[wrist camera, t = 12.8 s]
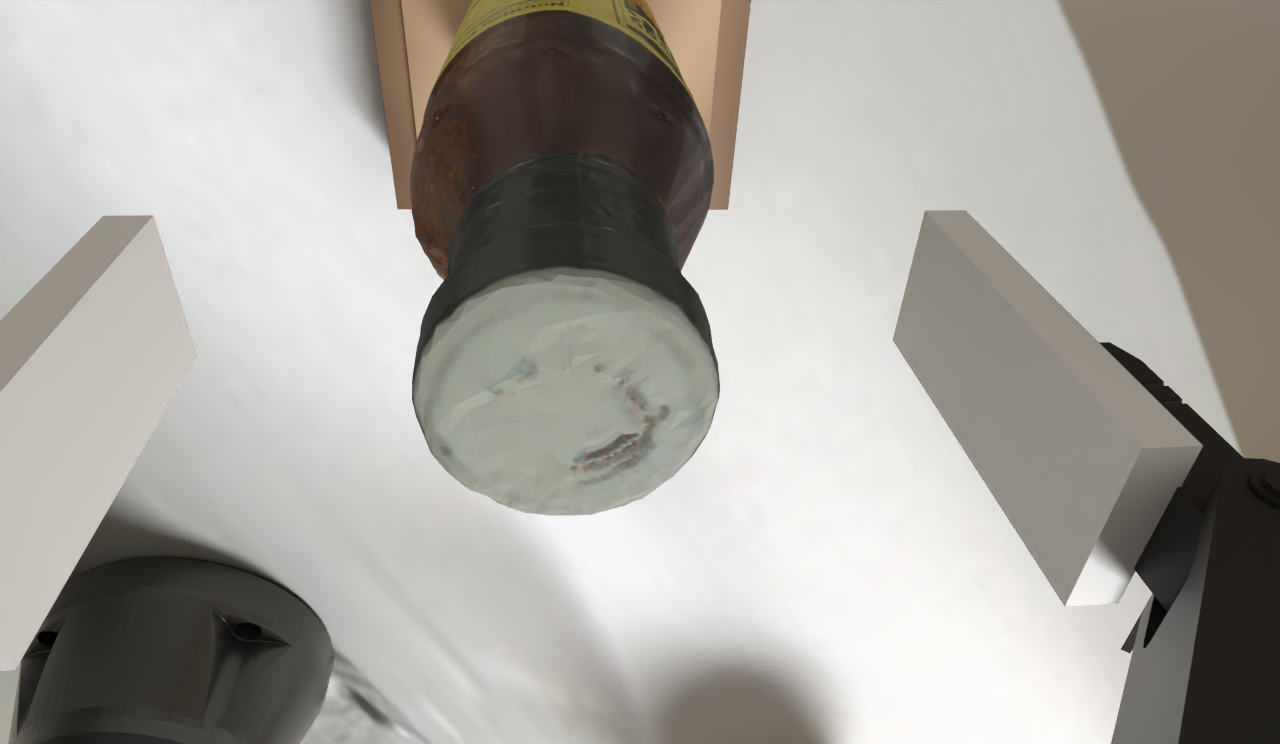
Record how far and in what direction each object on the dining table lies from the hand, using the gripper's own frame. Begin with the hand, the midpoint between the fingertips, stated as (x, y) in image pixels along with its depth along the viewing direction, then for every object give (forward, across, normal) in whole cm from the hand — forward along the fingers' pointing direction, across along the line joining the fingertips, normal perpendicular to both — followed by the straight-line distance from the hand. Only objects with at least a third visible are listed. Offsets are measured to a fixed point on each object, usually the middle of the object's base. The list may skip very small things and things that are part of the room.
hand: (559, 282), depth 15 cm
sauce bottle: (+16, 0, 0) cm, 16 cm away
